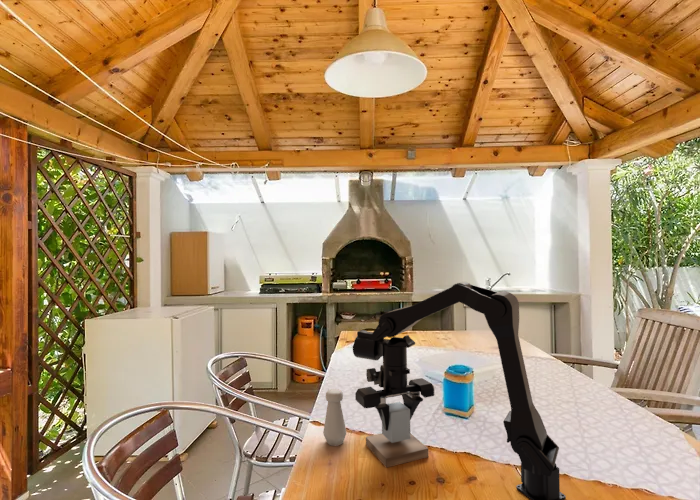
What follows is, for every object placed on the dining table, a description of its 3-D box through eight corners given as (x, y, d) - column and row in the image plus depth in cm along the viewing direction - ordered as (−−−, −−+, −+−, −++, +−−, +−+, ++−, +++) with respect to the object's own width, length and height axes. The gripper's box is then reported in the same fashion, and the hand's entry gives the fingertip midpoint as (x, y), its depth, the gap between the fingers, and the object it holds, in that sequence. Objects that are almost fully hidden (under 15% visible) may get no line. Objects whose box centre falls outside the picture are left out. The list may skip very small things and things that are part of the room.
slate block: (410, 438, 95) (410, 409, 95) (391, 442, 93) (391, 412, 93) (400, 429, 100) (399, 401, 99) (382, 433, 98) (381, 405, 98)
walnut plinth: (428, 456, 93) (428, 448, 93) (386, 467, 89) (386, 458, 89) (404, 436, 104) (404, 428, 103) (365, 444, 99) (365, 436, 99)
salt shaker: (343, 448, 98) (342, 395, 98) (321, 446, 99) (320, 394, 99) (348, 437, 103) (347, 387, 103) (327, 435, 105) (326, 386, 104)
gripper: (411, 350, 107) (412, 408, 107) (346, 359, 100) (347, 421, 100) (435, 361, 97) (436, 425, 97) (364, 372, 90) (365, 441, 90)
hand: (396, 427), depth 96 cm, fingers closed on slate block, 5 cm apart
